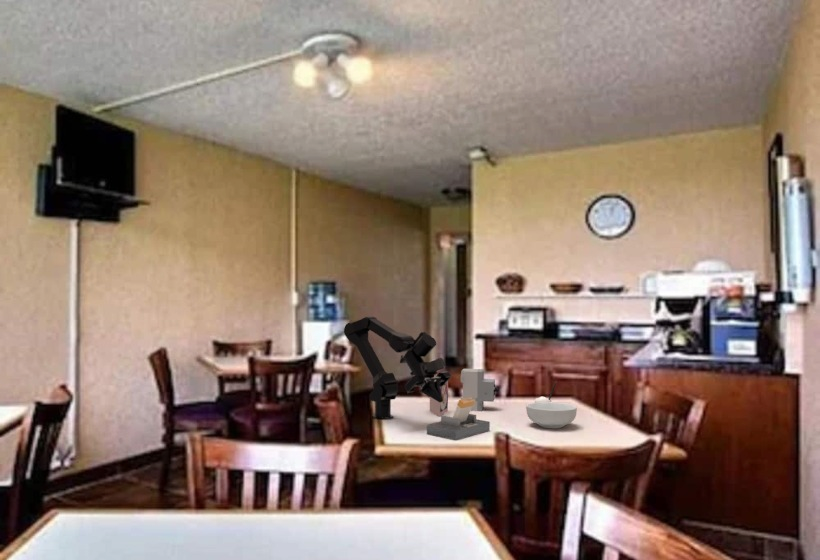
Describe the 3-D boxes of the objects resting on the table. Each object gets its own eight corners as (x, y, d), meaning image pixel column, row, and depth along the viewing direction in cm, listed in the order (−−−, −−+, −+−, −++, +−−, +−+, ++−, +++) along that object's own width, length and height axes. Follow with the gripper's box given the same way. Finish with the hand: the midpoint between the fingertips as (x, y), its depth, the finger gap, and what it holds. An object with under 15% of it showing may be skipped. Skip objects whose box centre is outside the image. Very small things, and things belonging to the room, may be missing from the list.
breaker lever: (450, 421, 220) (459, 399, 217) (462, 418, 225) (471, 397, 222) (454, 425, 219) (463, 403, 216) (466, 422, 223) (475, 400, 221)
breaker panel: (426, 433, 219) (426, 417, 219) (461, 425, 232) (461, 409, 232) (455, 440, 211) (456, 422, 211) (489, 430, 224) (489, 414, 224)
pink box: (441, 417, 246) (441, 375, 246) (422, 415, 248) (422, 374, 248) (449, 411, 257) (450, 371, 257) (431, 409, 259) (431, 370, 259)
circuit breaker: (497, 411, 256) (498, 372, 256) (460, 410, 259) (460, 371, 259) (499, 408, 264) (499, 369, 264) (462, 406, 266) (463, 368, 266)
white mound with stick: (529, 414, 253) (527, 382, 253) (535, 411, 258) (534, 380, 258) (553, 416, 248) (551, 384, 248) (559, 413, 253) (557, 381, 253)
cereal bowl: (580, 423, 236) (580, 403, 236) (571, 433, 221) (571, 412, 221) (533, 419, 243) (533, 399, 243) (520, 428, 228) (520, 407, 228)
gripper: (412, 352, 223) (437, 390, 216) (447, 348, 237) (472, 383, 229) (394, 373, 228) (418, 411, 221) (430, 368, 242) (453, 403, 235)
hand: (441, 401), depth 226 cm, fingers closed
